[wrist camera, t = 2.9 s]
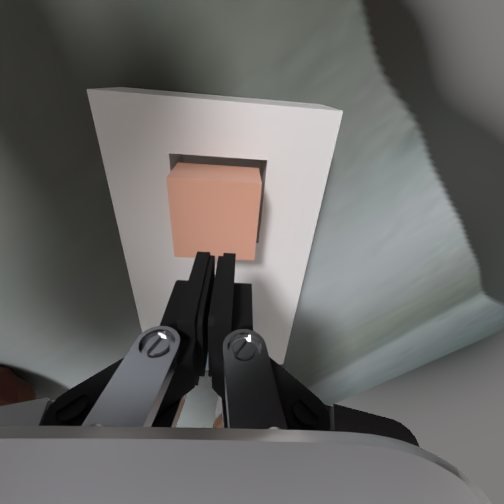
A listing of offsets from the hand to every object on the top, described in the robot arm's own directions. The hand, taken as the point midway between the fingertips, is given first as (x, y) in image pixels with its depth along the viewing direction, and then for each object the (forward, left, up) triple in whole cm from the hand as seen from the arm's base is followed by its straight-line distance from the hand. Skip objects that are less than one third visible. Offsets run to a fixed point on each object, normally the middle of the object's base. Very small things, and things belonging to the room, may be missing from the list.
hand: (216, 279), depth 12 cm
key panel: (+5, 0, -13) cm, 14 cm away
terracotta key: (-1, 0, -7) cm, 8 cm away
